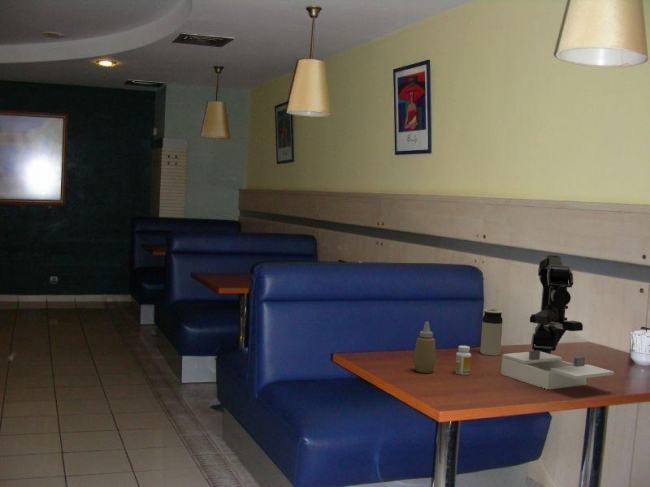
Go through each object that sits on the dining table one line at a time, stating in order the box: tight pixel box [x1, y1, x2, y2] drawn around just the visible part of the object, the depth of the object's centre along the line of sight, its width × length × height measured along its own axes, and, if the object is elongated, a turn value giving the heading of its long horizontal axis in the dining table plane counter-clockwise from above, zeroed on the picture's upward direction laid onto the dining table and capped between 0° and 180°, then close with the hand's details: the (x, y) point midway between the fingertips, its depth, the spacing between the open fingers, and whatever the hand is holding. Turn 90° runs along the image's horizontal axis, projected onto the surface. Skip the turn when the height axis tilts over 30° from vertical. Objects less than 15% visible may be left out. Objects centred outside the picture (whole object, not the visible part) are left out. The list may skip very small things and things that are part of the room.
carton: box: [500, 357, 587, 390], centre depth 262 cm, size 19×22×6 cm
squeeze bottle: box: [413, 321, 437, 374], centre depth 265 cm, size 8×8×18 cm
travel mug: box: [479, 308, 504, 357], centre depth 301 cm, size 8×8×18 cm
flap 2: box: [550, 356, 615, 379], centre depth 247 cm, size 18×11×4 cm, turn 120°
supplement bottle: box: [454, 345, 472, 376], centre depth 265 cm, size 5×5×10 cm
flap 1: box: [502, 350, 563, 364], centre depth 267 cm, size 18×11×4 cm, turn 120°
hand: (553, 347), depth 255 cm, fingers closed
